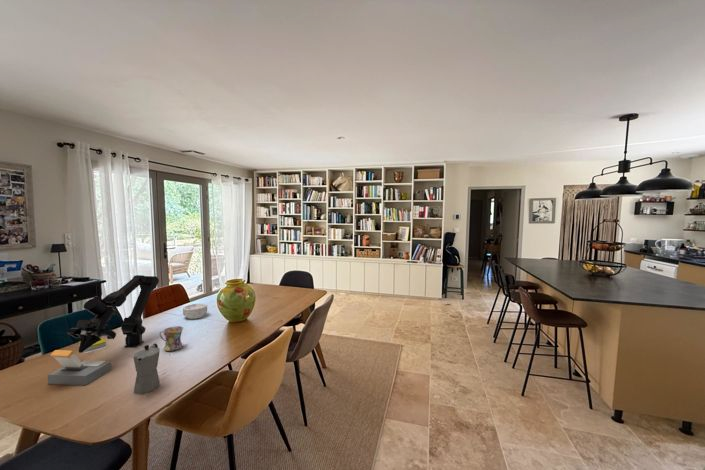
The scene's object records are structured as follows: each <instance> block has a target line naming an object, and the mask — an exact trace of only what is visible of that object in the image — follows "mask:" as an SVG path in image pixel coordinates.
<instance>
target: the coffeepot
mask: <svg viewBox="0 0 705 470" xmlns="http://www.w3.org/2000/svg"><path fill="white" fill-rule="evenodd" d="M160 351H161V350H160V347H159V345H158V344H157V343H153V344H151V345H150V344H145V345H144V348H142V349H139V350H138V351H135V352H133V358H132V359H133V363H134V369H135V372H136V376H135V382H134V387H133V393H134V394H138V395H143V394H149V393H150V392H153V391H155V390H156V389H159V387H160V386H161V385H160V384H161V383H160V377H159V372H158V369H157V368H158V365H159V364H158V363H159V360H160V359H159V357H160Z"/></svg>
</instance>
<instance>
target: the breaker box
mask: <svg viewBox="0 0 705 470" xmlns="http://www.w3.org/2000/svg"><path fill="white" fill-rule="evenodd" d="M80 361H81V362H82V363H83V367H82V368H65V367H63V366H62V367H60V368H59V369H56V370H55V371H52V372H50V373H48V374H47V385H67V386H68V385H70V386H87V385H88V384H90V383H92V382H93V381H94V382H95V380H97V379H98V378H100V377H102V376H104V375H105V374H107V373H109V372H110V371H111V370H112V362H111V361H105V360H80Z"/></svg>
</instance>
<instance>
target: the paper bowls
mask: <svg viewBox="0 0 705 470" xmlns="http://www.w3.org/2000/svg"><path fill="white" fill-rule="evenodd" d="M207 313H208V304H205V303H193V304H188V305H185V306H183V307H182V315H183V316H185V317H186V318H187V319H189V320H195V319H196V320H197V318H198V319H200V318H203V317H204V315H206V314H207Z"/></svg>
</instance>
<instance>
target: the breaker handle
mask: <svg viewBox="0 0 705 470" xmlns="http://www.w3.org/2000/svg"><path fill="white" fill-rule="evenodd" d="M49 356H50V357H51V358H54V359H55V360H56V361H57V362H58V363H59V364H60V365H61V366H62V367H65V368H82V367H83V363H82V362H81V361H82V360H80V359H79V358H78V357H77V356H76V354H75V351H74V350H67V349H65V350H64V349H63V350H61V349H55V350H54V351H53V352H51V353H50V355H49Z"/></svg>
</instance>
